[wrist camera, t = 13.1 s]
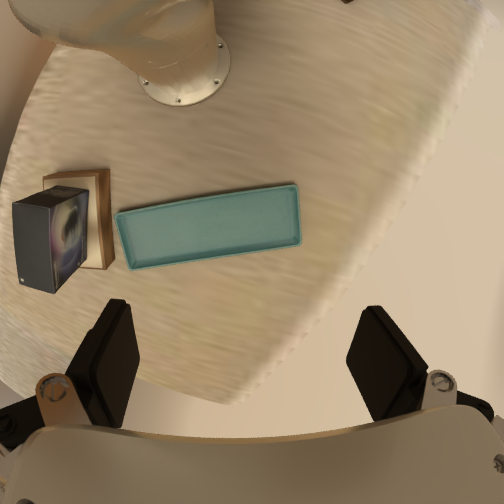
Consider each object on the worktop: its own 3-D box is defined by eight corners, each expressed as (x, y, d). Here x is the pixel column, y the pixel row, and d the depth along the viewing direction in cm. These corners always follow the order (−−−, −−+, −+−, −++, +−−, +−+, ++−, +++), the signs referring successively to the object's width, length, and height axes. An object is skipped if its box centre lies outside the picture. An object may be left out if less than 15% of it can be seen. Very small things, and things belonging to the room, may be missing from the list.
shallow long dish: (294, 181, 39) (298, 184, 37) (299, 241, 43) (303, 246, 40) (118, 209, 38) (112, 213, 36) (133, 265, 42) (128, 271, 39)
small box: (89, 260, 36) (56, 297, 26) (55, 253, 35) (17, 285, 25) (92, 189, 32) (50, 208, 22) (54, 184, 31) (9, 202, 21)
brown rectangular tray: (56, 172, 34) (41, 177, 30) (109, 169, 35) (97, 173, 31) (64, 255, 39) (52, 266, 35) (115, 258, 41) (105, 270, 37)
